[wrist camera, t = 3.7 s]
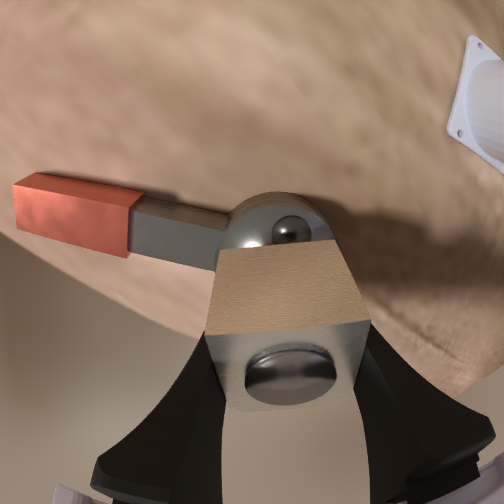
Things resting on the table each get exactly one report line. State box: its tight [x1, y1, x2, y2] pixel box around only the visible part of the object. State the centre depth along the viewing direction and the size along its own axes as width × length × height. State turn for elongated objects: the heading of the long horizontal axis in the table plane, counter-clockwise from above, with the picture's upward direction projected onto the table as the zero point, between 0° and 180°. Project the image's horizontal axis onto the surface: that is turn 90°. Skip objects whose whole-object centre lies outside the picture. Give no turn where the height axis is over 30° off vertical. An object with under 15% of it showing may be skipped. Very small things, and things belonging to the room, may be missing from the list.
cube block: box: [204, 240, 371, 412], centre depth 11 cm, size 5×5×5 cm
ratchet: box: [13, 173, 340, 273], centre depth 15 cm, size 21×7×5 cm, turn 76°
